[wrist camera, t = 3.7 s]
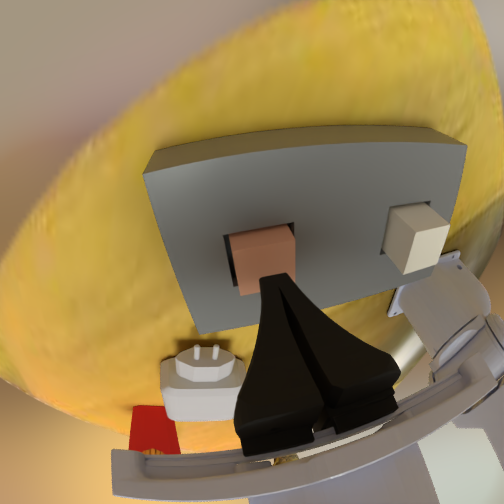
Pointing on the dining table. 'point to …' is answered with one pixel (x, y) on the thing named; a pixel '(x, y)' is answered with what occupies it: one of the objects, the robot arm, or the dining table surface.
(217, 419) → the charger
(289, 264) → the terracotta key
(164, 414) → the french fries
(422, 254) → the offwhite key
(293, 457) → the ceramic cup
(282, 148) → the key box
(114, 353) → the dining table surface
